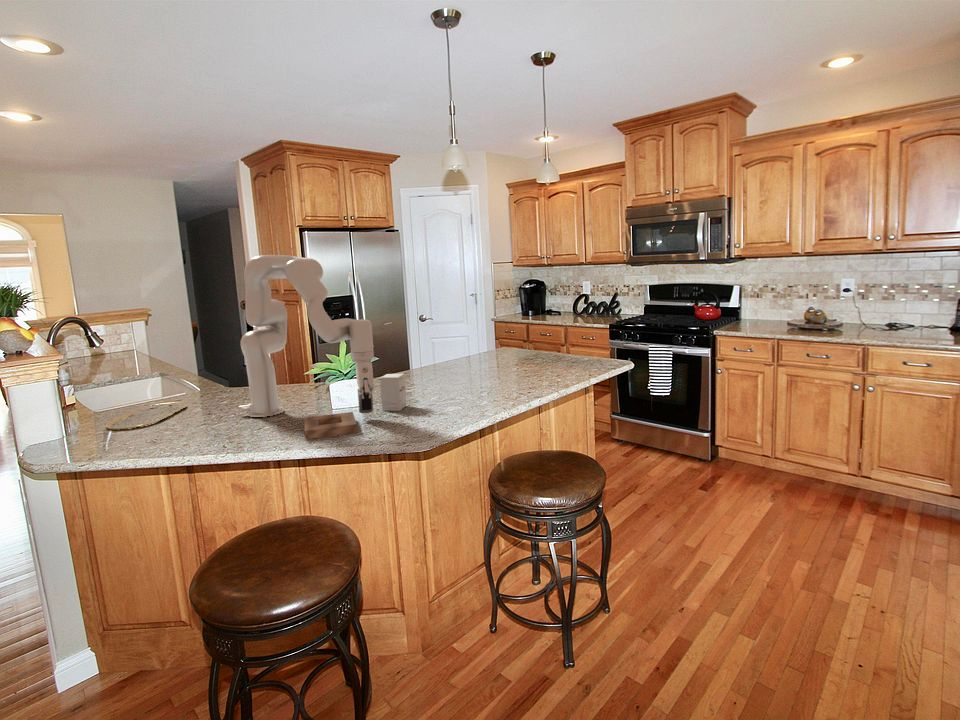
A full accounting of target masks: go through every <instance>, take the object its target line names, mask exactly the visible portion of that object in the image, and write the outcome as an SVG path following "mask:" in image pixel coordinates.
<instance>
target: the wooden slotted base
mask: <svg viewBox="0 0 960 720" xmlns="http://www.w3.org/2000/svg"><path fill="white" fill-rule="evenodd" d="M358 433H359V432H358V423H357V420H356V418H355V416H354V412H353V411H349V412H348V411H347V412H340V413H334V414H333V413H332V414H331V413H330V414H325V415H317V416H309V417H304V436H305V438H304V439H305V440H306V439H310V440H314V439H313V438H317V439H321V438H320V437H325V438H329V436H332V437H338V436H337V435H339V436H346V435H352V434H358Z"/></svg>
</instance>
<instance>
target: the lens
mask: <svg viewBox="0 0 960 720" xmlns="http://www.w3.org/2000/svg"><path fill="white" fill-rule="evenodd" d="M363 390H365V389H364V388H363ZM363 393H364V392H363ZM370 397H371V405H372V409H371V410H362V401H361V399H362V391H361V390H360V389H359V388H357V399H358V413H359V414H369V413H373V412H374V401H373V400H374V399H373V390H372V389H371V388H370Z"/></svg>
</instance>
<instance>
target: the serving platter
mask: <svg viewBox="0 0 960 720" xmlns="http://www.w3.org/2000/svg"><path fill="white" fill-rule="evenodd" d="M172 403H180V404H185V405H186V406H185V407H186V408H187V407H188V404H187V403H185V402H181V401H180V402H177V401H174V402H165V403H163V402H162V403H157V404H155V405H159V404H160V405H161V404H172ZM152 405H153V404H151V405H150V406H152ZM148 406H149V405H147V406H143V407H141V408H138V409H136V410H133V411H131V412H129V413H127V414H125V415H122V416H120V417H118V418H115V419H113V420H111V421H109V422H107V423H106V424H105V428H107V429H109V430H111V429H114V430H113V431H119V430H118V429H128V428H135V427H141V426H145V425H149V424H152V423H155V422H158V421H160V420H162V419H164V418H166V417H168V416H170V415H171V414H173V413H175V412H177V411H179V410H181V409H183V408H185V407H181V408H179V409H177V410H175V411H174V412H172V413H170V414H168V415H166V416H164V417H162V418H160V419H158V420H155V421H151V422H147V423H142V424H138V425H132V426H123V427H109V426H110V425H111V424H113V423H115V422H117V421H119V420H120V419H123V418H124V417H126V416H128V415H130V414H132V413H133V412H135V411H137V410H139V409H142V408H145V407H148ZM186 408H185V409H186ZM183 410H184V409H183ZM170 417H171V416H170ZM168 418H169V417H168Z"/></svg>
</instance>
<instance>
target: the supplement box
mask: <svg viewBox="0 0 960 720" xmlns="http://www.w3.org/2000/svg"><path fill="white" fill-rule="evenodd" d="M379 384H380V385H379V386H380V388H379V389H380V399H381V411H385V412H387V411H388V412H389V411H391V412H393V411H394V412H395V411H396V412H397V411H398V412H399V411H401V410H402V409H404V408H405V407H406V406H407V394H406V380H405V373H386V374H384V375H383V376H381V377H379Z"/></svg>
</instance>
